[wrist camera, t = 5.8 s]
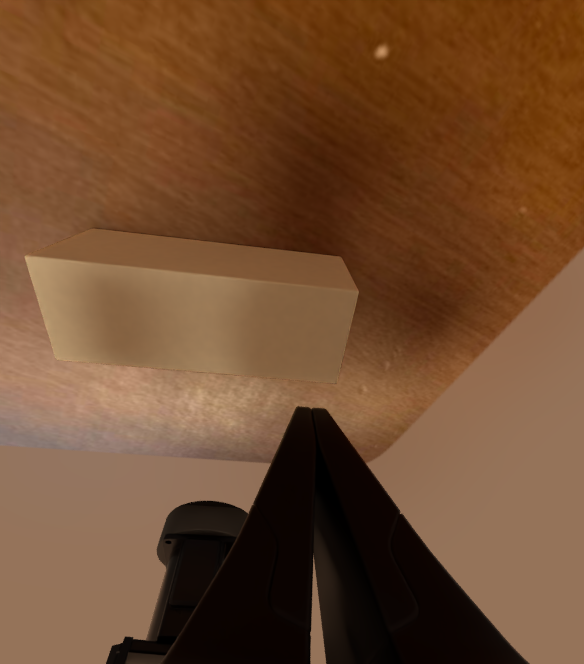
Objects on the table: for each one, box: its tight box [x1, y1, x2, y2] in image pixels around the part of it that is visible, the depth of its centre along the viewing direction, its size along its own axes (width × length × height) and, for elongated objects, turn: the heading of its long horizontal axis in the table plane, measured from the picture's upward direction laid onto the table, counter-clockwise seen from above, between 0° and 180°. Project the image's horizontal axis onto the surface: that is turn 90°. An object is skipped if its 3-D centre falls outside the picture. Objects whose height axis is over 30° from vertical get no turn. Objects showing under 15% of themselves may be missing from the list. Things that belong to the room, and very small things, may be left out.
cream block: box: [25, 228, 359, 384], centre depth 15 cm, size 4×4×12 cm
